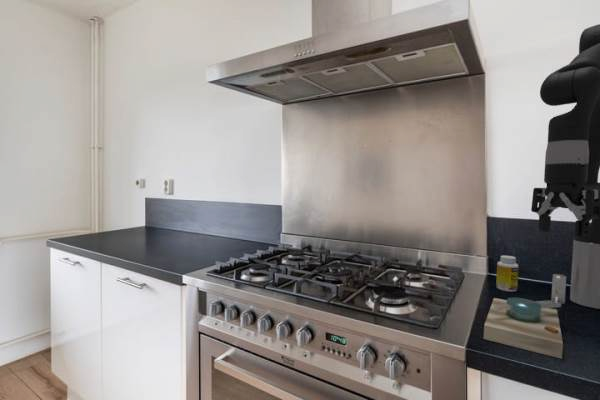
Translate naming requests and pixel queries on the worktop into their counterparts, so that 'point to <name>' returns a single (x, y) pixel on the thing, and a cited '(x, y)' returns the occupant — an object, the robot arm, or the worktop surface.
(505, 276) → the supplement bottle
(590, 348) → the worktop surface
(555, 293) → the teal knob with stem
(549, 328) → the stand
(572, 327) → the worktop surface
